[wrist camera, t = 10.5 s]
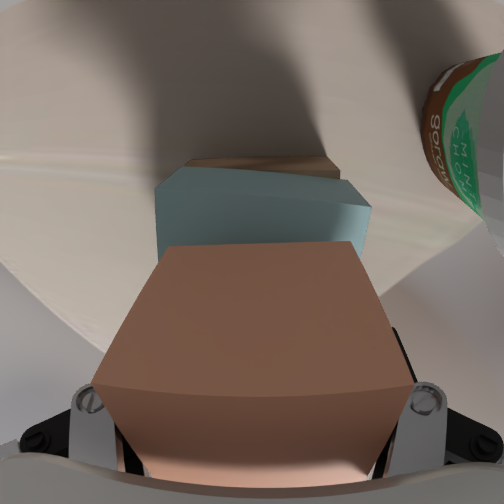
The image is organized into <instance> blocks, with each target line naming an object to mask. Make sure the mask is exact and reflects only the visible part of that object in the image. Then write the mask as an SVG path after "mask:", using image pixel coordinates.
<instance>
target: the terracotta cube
mask: <svg viewBox="0 0 504 504" xmlns="http://www.w3.org/2000/svg"><path fill="white" fill-rule="evenodd" d="M91 384H92V386H93V387H94V389H95V391H96V393H97V394H98V396H99V398H100V399H101V401H102V403H103V405H104V406H105V408H106V409H107V411H108V413H109V414H110V416H111V418H112V419H113V421H114V422H115V424H116V425H117V427H118V428H119V430H120V431H121V433H122V434H123V436H124V437H125V439H126V440H127V442H128V443H129V445H130V446H131V448H132V449H133V450H134V452H135V453H136V455H137V456H138V457H139V459H140V460H141V461H142V463H143V464H144V465H145V467H146V468H147V469H148V471H149V472H150V473H151V474H152V476H153V477H154V478H156V479H162V480H169V481H176V482H184V483H192V484H201V485H212V486H226V487H247V488H289V487H310V486H324V485H335V484H344V483H353V482H360V481H365V479H366V477H367V476H368V474H369V472H370V471H371V469H372V467H373V466H374V464H375V462H376V461H377V459H378V457H379V455H380V454H381V452H382V450H383V448H384V446H385V444H386V443H387V441H388V439H389V437H390V435H391V433H392V431H393V429H394V427H395V425H396V423H397V421H398V419H399V417H400V415H401V413H402V411H403V409H404V407H405V405H406V402H407V400H408V398H409V396H410V394H411V391H412V389H413V387H414V381H413V379H412V376H411V373H410V371H409V368H408V366H407V363H406V361H405V358H404V356H403V354H402V351H401V349H400V346H399V344H398V341H397V339H396V337H395V334H394V332H393V330H392V327H391V325H390V323H389V321H388V318H387V316H386V314H385V312H384V309H383V307H382V305H381V303H380V301H379V298H378V296H377V294H376V292H375V290H374V288H373V286H372V283H371V281H370V279H369V277H368V275H367V273H366V271H365V269H364V267H363V265H362V263H361V261H360V259H359V257H358V255H357V253H356V251H355V249H354V247H353V245H352V243H351V241H329V242H290V243H255V244H222V245H191V246H168V248H167V249H166V251H165V253H164V254H163V256H162V258H161V259H160V261H159V262H158V264H157V266H156V267H155V269H154V271H153V272H152V274H151V276H150V277H149V279H148V281H147V282H146V284H145V286H144V287H143V289H142V291H141V292H140V294H139V296H138V297H137V299H136V301H135V303H134V304H133V306H132V308H131V309H130V311H129V313H128V315H127V316H126V318H125V320H124V322H123V324H122V325H121V327H120V329H119V331H118V332H117V334H116V336H115V338H114V340H113V342H112V343H111V345H110V347H109V349H108V351H107V353H106V354H105V356H104V358H103V360H102V362H101V364H100V366H99V368H98V370H97V371H96V373H95V375H94V378H93V379H92V381H91Z"/></svg>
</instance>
